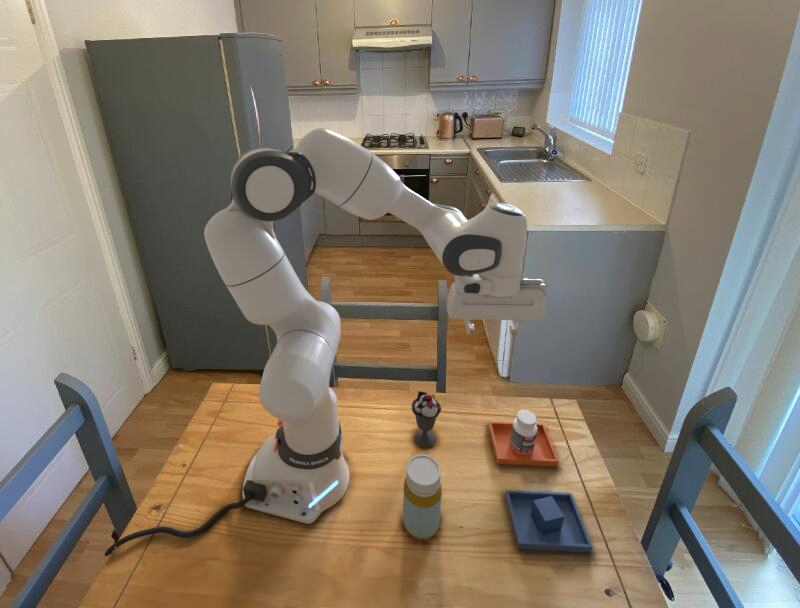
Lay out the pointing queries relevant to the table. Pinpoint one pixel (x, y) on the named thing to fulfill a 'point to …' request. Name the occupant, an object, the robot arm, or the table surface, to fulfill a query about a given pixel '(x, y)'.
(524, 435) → the pill bottle
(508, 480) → the table surface
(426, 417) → the sundae
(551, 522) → the blue block
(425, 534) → the bottle
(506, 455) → the orange tray
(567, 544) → the blue tray
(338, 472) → the robot arm
